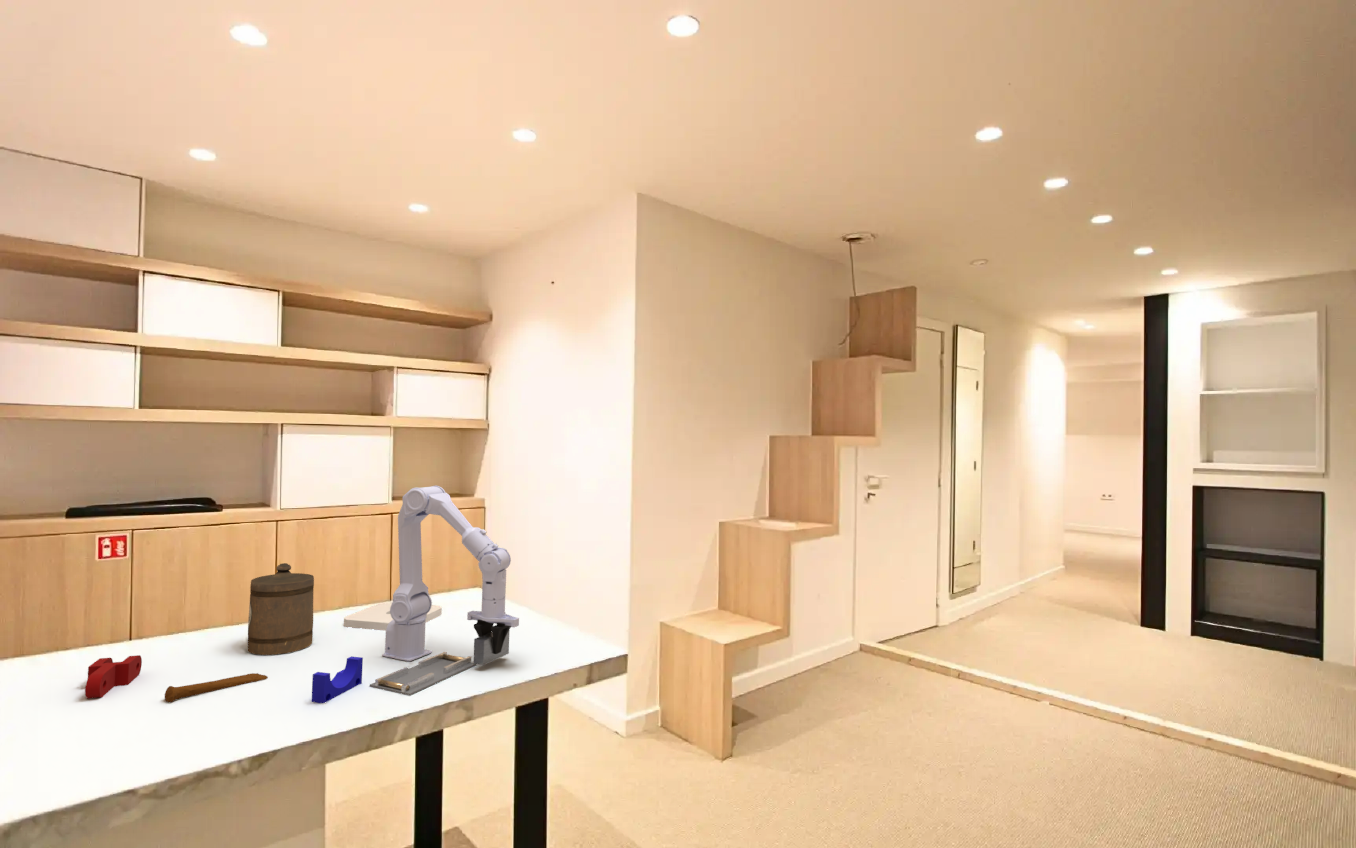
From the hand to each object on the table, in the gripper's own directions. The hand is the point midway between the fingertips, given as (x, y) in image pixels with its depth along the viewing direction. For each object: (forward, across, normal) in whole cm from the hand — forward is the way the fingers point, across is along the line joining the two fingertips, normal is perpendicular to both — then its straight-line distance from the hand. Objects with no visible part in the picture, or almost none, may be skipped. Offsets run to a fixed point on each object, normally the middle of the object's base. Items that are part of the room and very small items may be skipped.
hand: (491, 651), depth 165 cm
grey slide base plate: (+3, +9, +13) cm, 16 cm away
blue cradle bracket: (+4, +19, +30) cm, 35 cm away
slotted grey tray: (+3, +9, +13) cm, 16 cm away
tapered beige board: (+4, +52, -19) cm, 56 cm away
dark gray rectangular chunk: (+2, 0, 0) cm, 2 cm away
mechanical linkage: (+4, +65, +49) cm, 82 cm away
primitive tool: (+4, +44, +39) cm, 59 cm away
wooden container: (+4, +58, +14) cm, 60 cm away
